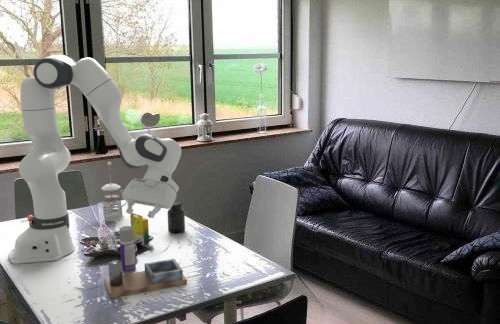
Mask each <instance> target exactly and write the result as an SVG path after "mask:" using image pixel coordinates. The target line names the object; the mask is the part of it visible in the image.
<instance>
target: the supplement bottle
mask: <svg viewBox="0 0 500 324" xmlns="http://www.w3.org/2000/svg"><path fill="white" fill-rule="evenodd" d="M185 220H186V218H185V210H184V209H183V205H182V202H181V201H174V204H173V206H172V207H171V208H170V209H167V230H168V231H167V232H168V233H169V234H172V235H176V234H178V235H179V234H183V233H184V232H186V221H185Z"/></svg>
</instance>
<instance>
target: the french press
mask: <svg viewBox="0 0 500 324" xmlns="http://www.w3.org/2000/svg"><path fill="white" fill-rule="evenodd" d="M112 164H113V163H112V161H108V162H107V165H106V166H109V169H111V166H112ZM111 177H112V176H111V174H109V179H110V183H107V184H104V185H103V186H101V191H105V192H111V194H106V195H103V196H102V197H103V199H102V206H103V207H102V209H103V216H104V218H105V220H106V221H105V222H116V221H120V220H121V221H122V220H123V219H124V218H125V215H124V214H123V207H124V206H126V205H127V201H125V203H124V204H122V198H120V197H121V195H122V193H123V192H124V190H125V189H124V190H123V189H121V185H119V184H117V183H112V181H111V179H112V178H111ZM118 190H119V194H118V193H117V194H116V193H113V192H114V191H118ZM120 194H121V195H120Z"/></svg>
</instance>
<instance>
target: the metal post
mask: <svg viewBox="0 0 500 324" xmlns="http://www.w3.org/2000/svg"><path fill="white" fill-rule="evenodd" d="M107 264H108V275H109V276H108V277H109V279H110V286H113V287H118V286H121V285H122V284H123V275H124V274H123V272H122V262H121V260H118V259H117V260H112V261H109V262H108V263H107Z"/></svg>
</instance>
